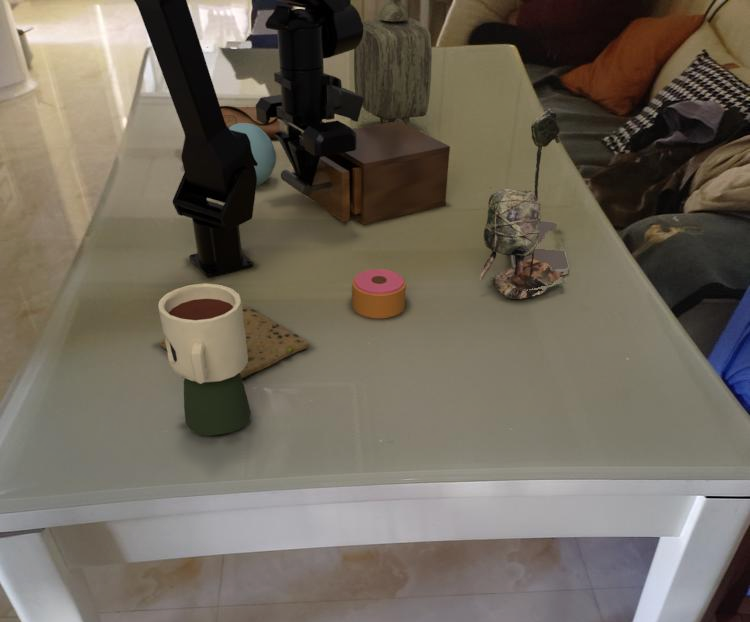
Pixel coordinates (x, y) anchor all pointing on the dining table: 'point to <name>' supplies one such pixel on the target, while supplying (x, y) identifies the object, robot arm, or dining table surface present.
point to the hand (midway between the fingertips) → (307, 187)
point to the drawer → (332, 186)
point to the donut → (378, 293)
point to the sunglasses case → (249, 119)
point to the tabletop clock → (394, 65)
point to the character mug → (208, 355)
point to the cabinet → (398, 171)
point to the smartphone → (547, 252)
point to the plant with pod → (520, 226)
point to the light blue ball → (259, 149)
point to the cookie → (265, 342)
